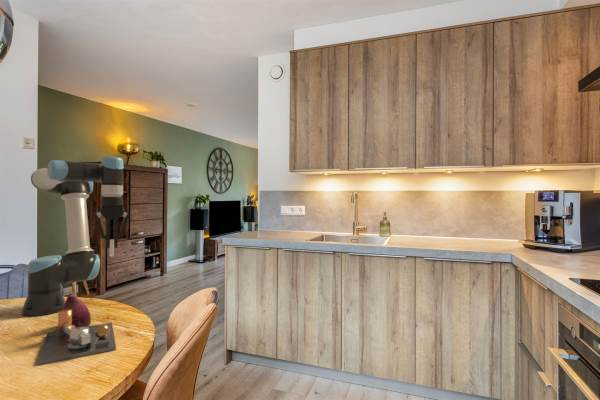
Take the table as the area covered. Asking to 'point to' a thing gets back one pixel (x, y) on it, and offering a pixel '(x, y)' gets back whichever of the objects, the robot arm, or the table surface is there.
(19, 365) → the table surface
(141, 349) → the table surface
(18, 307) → the table surface
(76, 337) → the lever
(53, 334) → the base
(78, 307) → the vegetable
